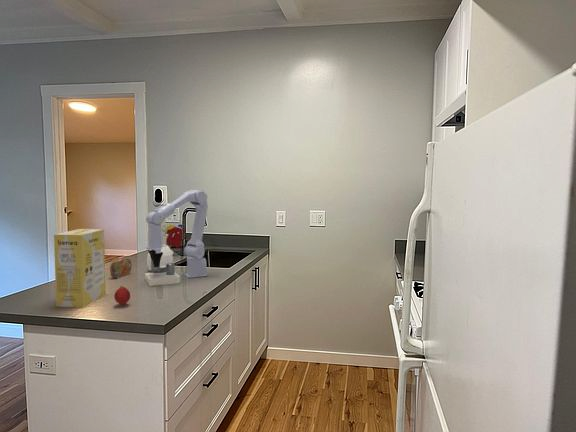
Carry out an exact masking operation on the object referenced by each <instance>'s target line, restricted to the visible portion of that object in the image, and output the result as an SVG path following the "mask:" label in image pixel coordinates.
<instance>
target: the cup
mask: <svg viewBox="0 0 576 432" xmlns="http://www.w3.org/2000/svg"><path fill="white" fill-rule="evenodd" d="M169 247H170V245H167V244H166V245H163V244H162V249H161V251H160V252H163V255H162V257H161V260H160V265H163V266H166V264H167V263H174V256H173V255H172V252H171V250H172V249H171V247H170V248H169ZM170 249H171V250H170ZM149 250H151V249H149ZM146 265H147V268H148V269H149V270H150V271H151V257H150V254H149V252H147V257H146Z"/></svg>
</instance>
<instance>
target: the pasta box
mask: <svg viewBox="0 0 576 432" xmlns="http://www.w3.org/2000/svg"><path fill="white" fill-rule="evenodd" d="M53 242H54V244H53V245H54V247H53V248H54V276H55V278H54V279H55V301H56V303H55V306H56V307H57V308H58V307H59V308H60V307H62V308H84V307H86V306H88V305H89V304H91V303H93V302H95V301H96V300H99V299H100V298H102V297H104V296H105V295H106V293H107V291H106V290H107V289H106V288H107V287H106V255H105V252H106V251H105V228H104V229H103V228H97V229H96V228H77V229H74V230H73V229H72V230H68V231H64V232H60V233H55V234H53Z"/></svg>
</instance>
